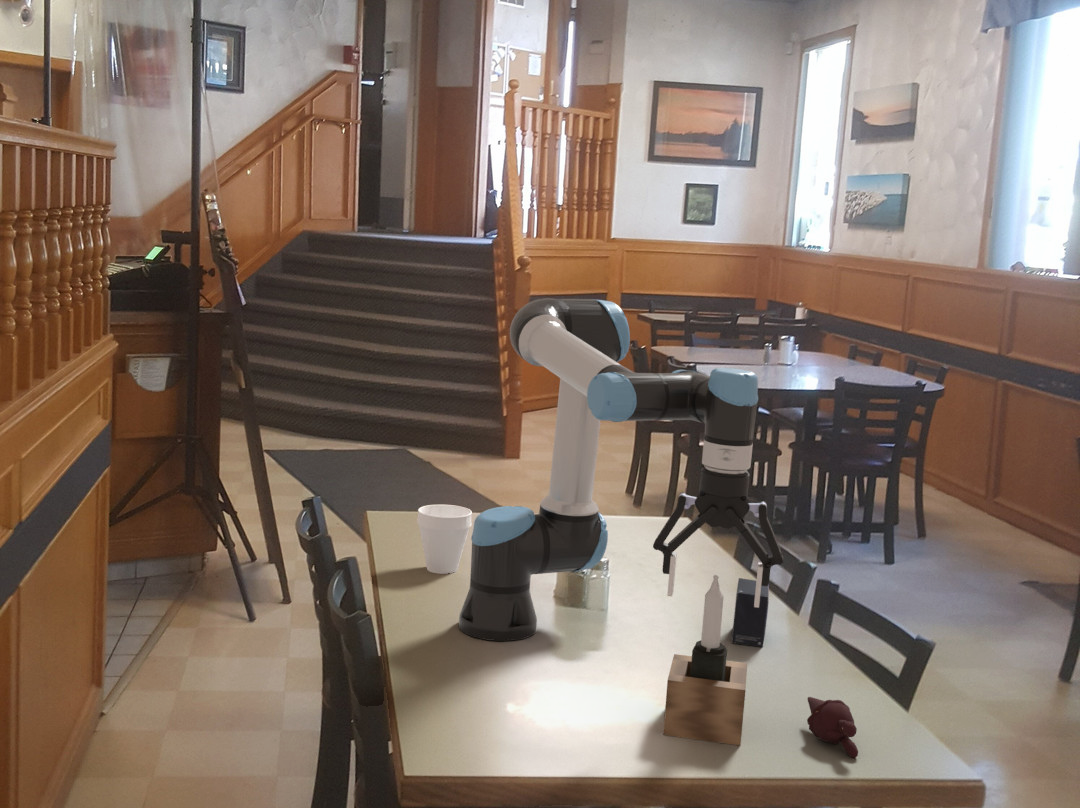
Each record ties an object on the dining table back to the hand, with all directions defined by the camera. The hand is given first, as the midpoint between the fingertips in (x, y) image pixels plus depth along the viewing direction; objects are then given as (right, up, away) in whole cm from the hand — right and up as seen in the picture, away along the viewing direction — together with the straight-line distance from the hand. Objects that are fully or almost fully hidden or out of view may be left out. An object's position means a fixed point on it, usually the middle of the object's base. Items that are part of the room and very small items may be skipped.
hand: (713, 599), depth 186 cm
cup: (-50, -7, +80) cm, 94 cm away
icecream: (+18, -22, 0) cm, 29 cm away
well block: (-1, -21, +3) cm, 21 cm away
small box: (+14, -15, +46) cm, 51 cm away
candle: (-1, -21, +3) cm, 21 cm away
